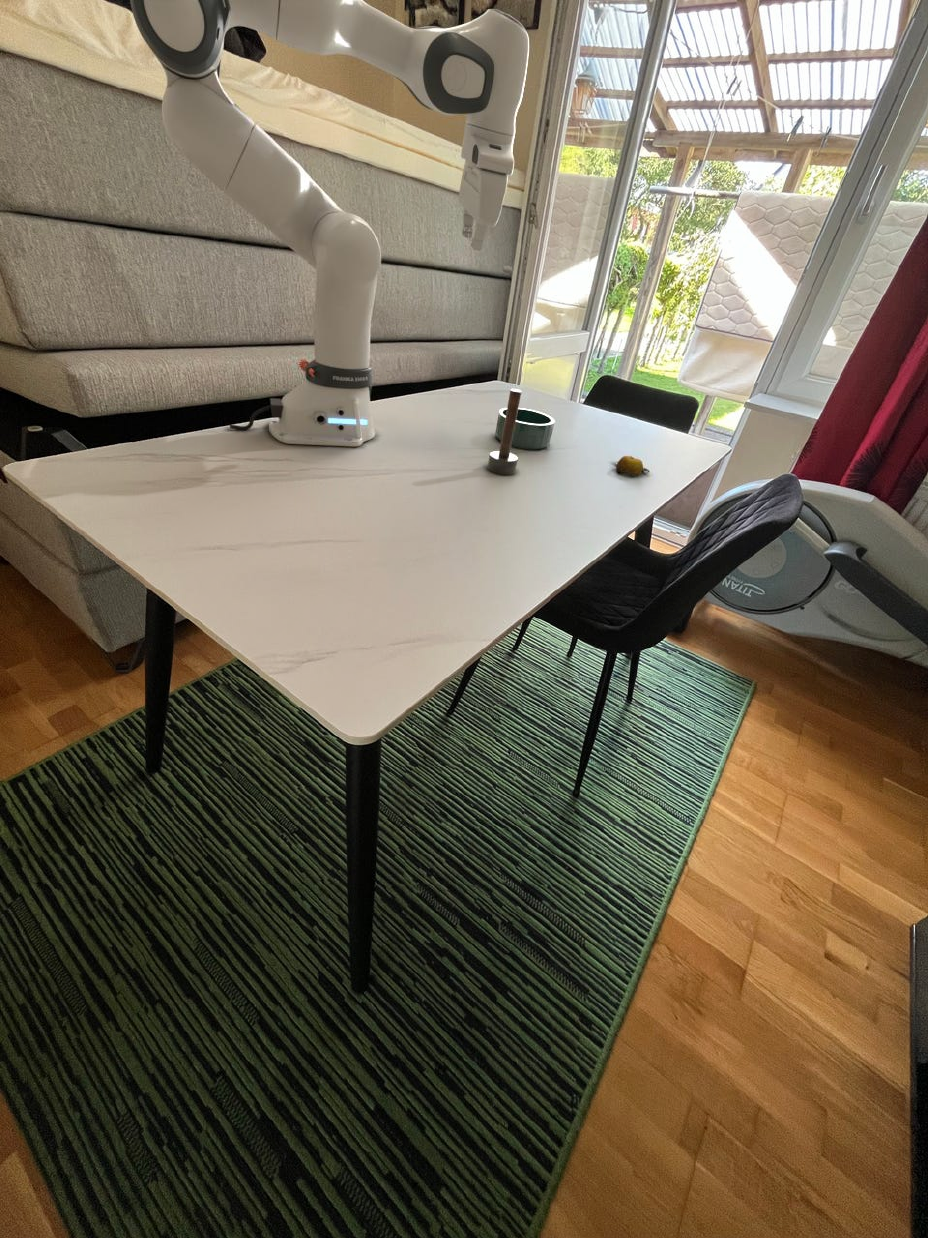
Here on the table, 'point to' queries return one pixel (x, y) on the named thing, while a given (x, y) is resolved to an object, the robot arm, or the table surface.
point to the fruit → (630, 465)
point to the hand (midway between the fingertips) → (471, 242)
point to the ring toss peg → (506, 440)
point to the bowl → (528, 429)
